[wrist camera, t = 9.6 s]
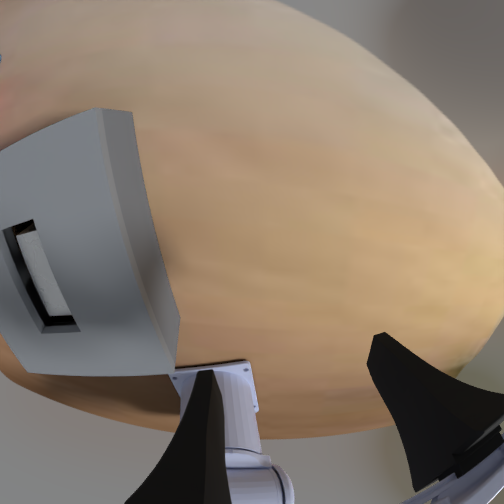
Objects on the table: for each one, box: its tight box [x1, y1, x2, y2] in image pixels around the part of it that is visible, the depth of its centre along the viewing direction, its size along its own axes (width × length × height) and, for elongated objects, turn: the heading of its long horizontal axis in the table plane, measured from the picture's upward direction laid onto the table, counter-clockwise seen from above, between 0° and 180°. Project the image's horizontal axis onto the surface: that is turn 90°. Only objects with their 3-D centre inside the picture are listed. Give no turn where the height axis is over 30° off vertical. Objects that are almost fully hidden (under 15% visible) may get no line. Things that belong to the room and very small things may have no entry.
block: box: [16, 223, 72, 316], centre depth 16 cm, size 6×2×5 cm, turn 5°
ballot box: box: [0, 108, 180, 376], centre depth 15 cm, size 16×14×6 cm
